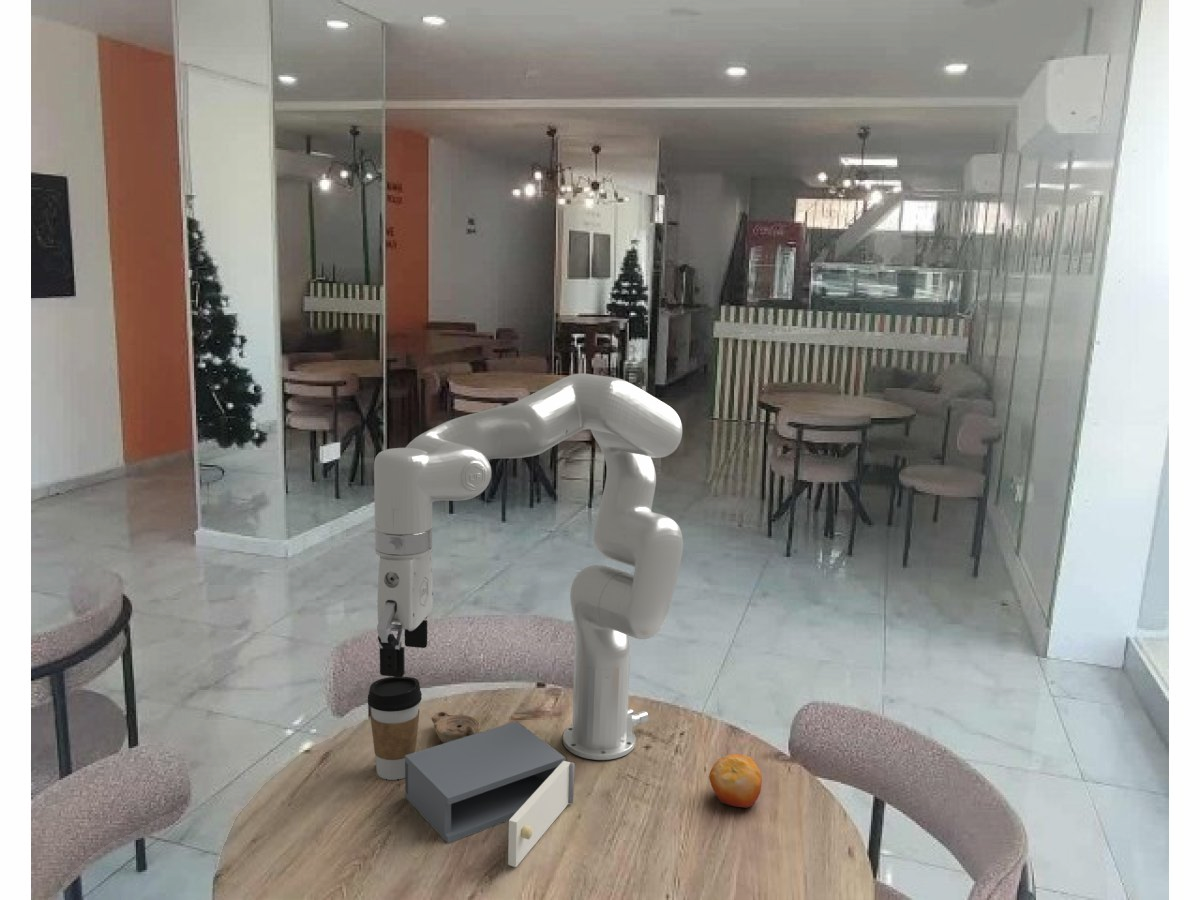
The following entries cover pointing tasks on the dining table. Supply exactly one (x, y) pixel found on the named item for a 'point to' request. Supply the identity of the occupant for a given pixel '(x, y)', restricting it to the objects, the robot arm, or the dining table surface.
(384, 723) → the coffee cup
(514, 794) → the cabinet
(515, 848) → the door
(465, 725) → the oil lamp
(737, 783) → the fruit
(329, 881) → the dining table surface
